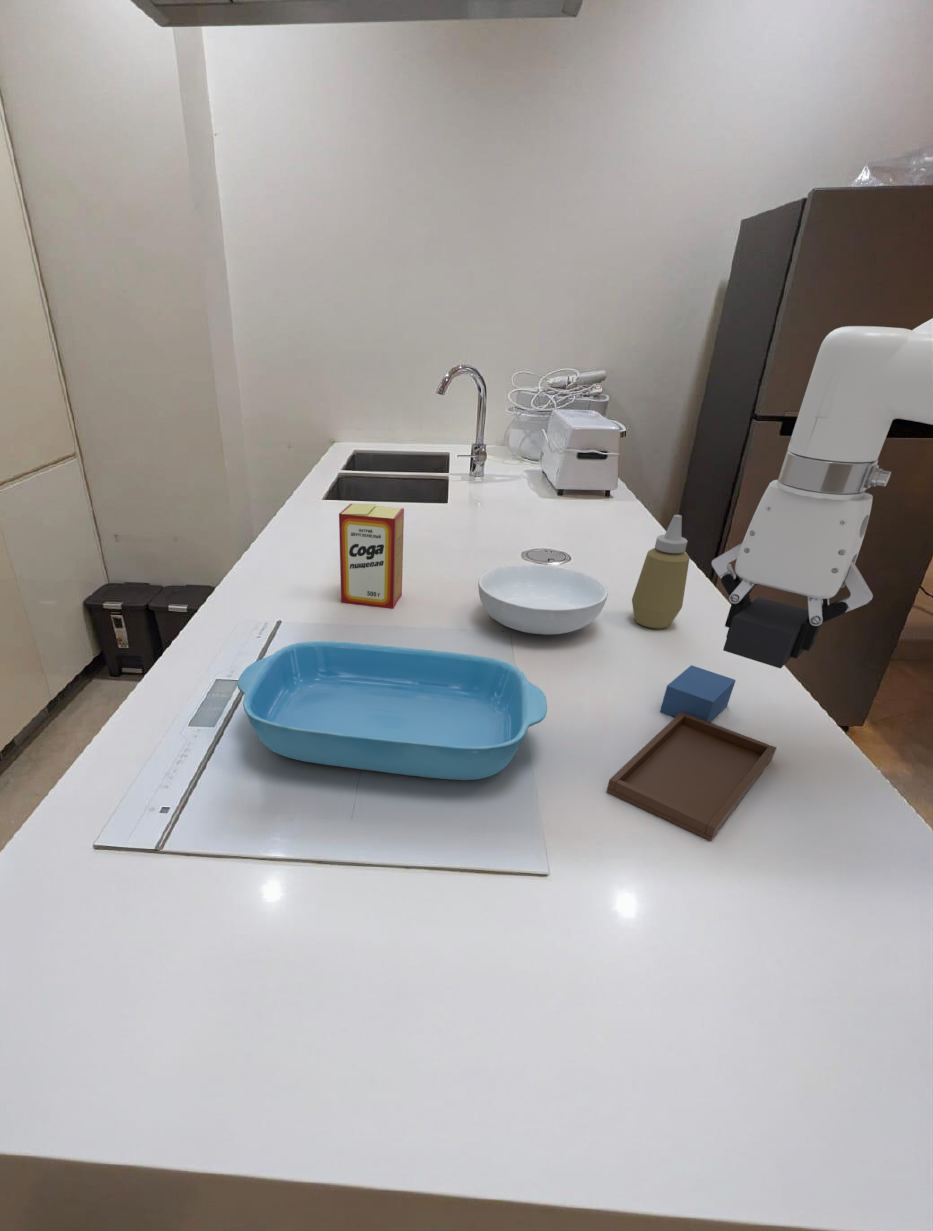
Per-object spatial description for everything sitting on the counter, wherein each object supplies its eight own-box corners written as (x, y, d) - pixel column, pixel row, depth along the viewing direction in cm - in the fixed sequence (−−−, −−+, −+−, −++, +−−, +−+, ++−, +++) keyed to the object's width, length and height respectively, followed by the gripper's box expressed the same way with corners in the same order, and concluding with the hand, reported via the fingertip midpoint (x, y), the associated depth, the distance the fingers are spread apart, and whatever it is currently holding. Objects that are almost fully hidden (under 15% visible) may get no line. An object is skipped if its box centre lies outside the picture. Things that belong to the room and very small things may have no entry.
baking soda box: (401, 594, 122) (404, 506, 114) (393, 608, 117) (394, 516, 108) (351, 589, 124) (350, 501, 116) (341, 602, 119) (338, 511, 110)
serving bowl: (621, 620, 114) (629, 582, 111) (563, 663, 101) (571, 621, 97) (515, 589, 125) (519, 553, 122) (450, 625, 112) (453, 585, 108)
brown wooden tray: (772, 759, 81) (776, 747, 80) (710, 841, 68) (715, 828, 67) (677, 723, 87) (681, 711, 86) (606, 792, 75) (609, 779, 74)
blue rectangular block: (727, 705, 91) (735, 679, 89) (704, 728, 86) (713, 702, 84) (684, 690, 94) (691, 664, 92) (659, 711, 89) (666, 685, 87)
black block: (803, 644, 75) (815, 611, 73) (780, 668, 70) (793, 634, 68) (747, 628, 79) (758, 596, 76) (722, 650, 74) (733, 616, 71)
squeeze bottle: (628, 629, 111) (652, 520, 102) (626, 610, 118) (648, 507, 108) (679, 635, 110) (709, 525, 100) (674, 615, 116) (701, 511, 107)
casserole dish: (537, 702, 91) (544, 655, 87) (542, 808, 72) (552, 753, 68) (273, 678, 95) (269, 632, 91) (214, 771, 76) (206, 718, 73)
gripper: (937, 484, 62) (860, 658, 72) (744, 455, 72) (700, 612, 81) (922, 499, 57) (842, 683, 67) (718, 466, 67) (674, 630, 77)
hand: (765, 642), depth 74 cm, fingers closed on black block, 6 cm apart
